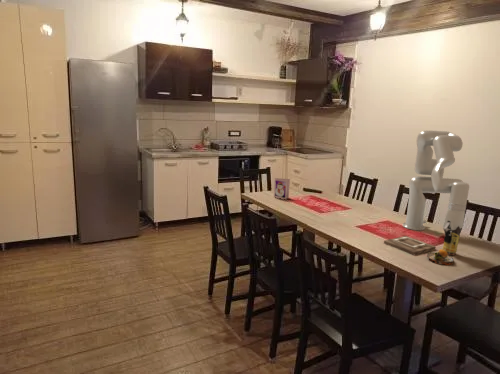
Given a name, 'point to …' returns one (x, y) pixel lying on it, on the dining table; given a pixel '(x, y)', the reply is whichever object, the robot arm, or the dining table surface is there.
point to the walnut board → (409, 245)
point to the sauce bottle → (452, 242)
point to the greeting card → (281, 188)
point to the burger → (440, 257)
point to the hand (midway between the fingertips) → (451, 241)
